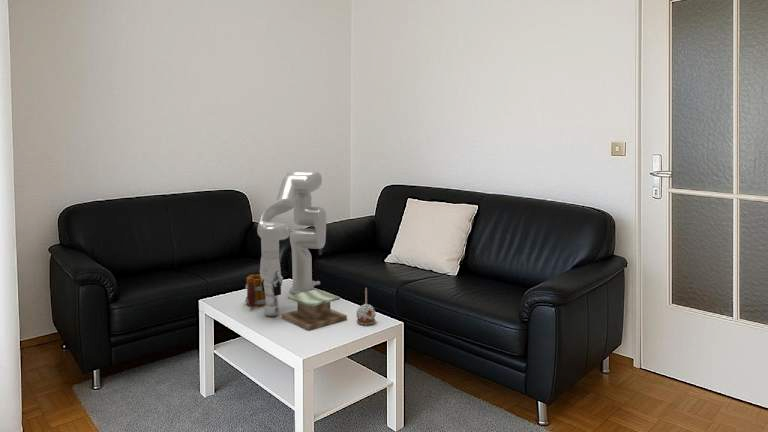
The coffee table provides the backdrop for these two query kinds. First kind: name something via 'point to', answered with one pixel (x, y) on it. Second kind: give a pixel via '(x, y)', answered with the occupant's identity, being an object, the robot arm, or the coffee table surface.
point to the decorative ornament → (366, 313)
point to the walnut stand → (313, 310)
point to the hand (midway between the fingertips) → (271, 292)
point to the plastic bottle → (270, 299)
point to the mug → (254, 291)
